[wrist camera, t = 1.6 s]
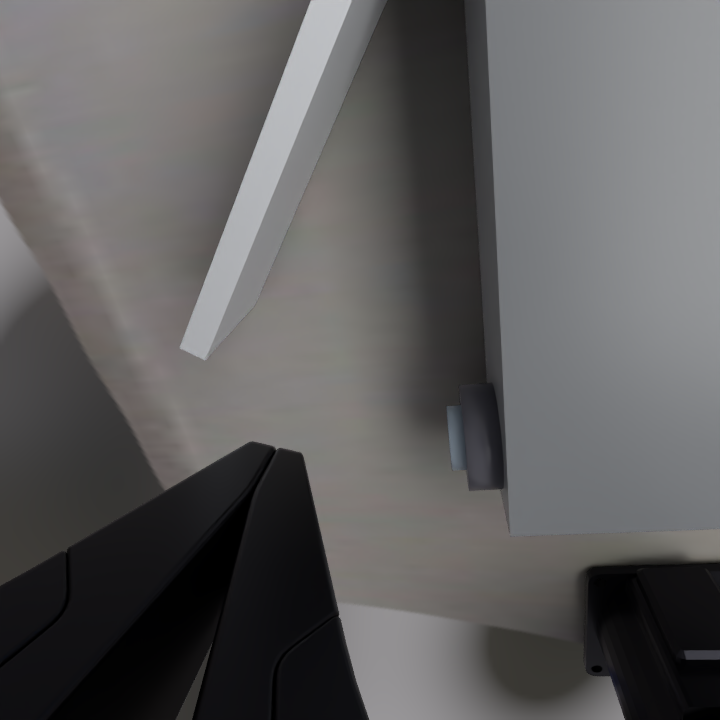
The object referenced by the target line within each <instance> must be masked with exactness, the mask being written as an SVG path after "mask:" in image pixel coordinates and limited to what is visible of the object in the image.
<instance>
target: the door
mask: <svg viewBox="0 0 720 720" xmlns="http://www.w3.org/2000/svg"><path fill="white" fill-rule="evenodd" d="M386 2H387V0H311V2H310V4H309V7H308V10H307V12H306V15H305V17H304V20H303V23H302V25H301V28H300V31H299V33H298V36H297V39H296V41H295V44H294V47H293V49H292V52H291V54H290V57H289V60H288V62H287V65H286V68H285V70H284V73H283V76H282V78H281V81H280V84H279V86H278V89H277V91H276V94H275V97H274V99H273V102H272V105H271V107H270V110H269V113H268V115H267V118H266V121H265V123H264V126H263V128H262V131H261V134H260V136H259V139H258V142H257V144H256V147H255V150H254V152H253V155H252V158H251V160H250V163H249V165H248V168H247V171H246V173H245V176H244V179H243V181H242V184H241V187H240V189H239V192H238V195H237V197H236V200H235V202H234V205H233V208H232V210H231V213H230V216H229V218H228V221H227V224H226V226H225V229H224V232H223V234H222V237H221V239H220V242H219V245H218V247H217V250H216V253H215V255H214V258H213V261H212V263H211V266H210V269H209V271H208V274H207V276H206V279H205V282H204V284H203V287H202V290H201V292H200V295H199V298H198V300H197V303H196V306H195V308H194V311H193V313H192V316H191V319H190V321H189V324H188V327H187V329H186V332H185V335H184V337H183V340H182V343H181V345H180V349H182V350H185V351H187V352H189V353H191V354H193V355H195V356H197V357H199V358H201V359H203V360H206V359H207V358H208V357H209V356H210V355H211V354H212V352H213V351H214V350H215V349H216V348H217V347H218V346H219V345H220V344H221V342H222V341H223V340H224V339H225V338H226V337H227V336H228V335H229V334H230V333H231V331H232V330H233V329H234V328H235V327H236V326H237V325H238V324H239V323H240V321H241V320H242V319H243V318H244V317H245V316H246V315H247V314H248V313H249V311H250V310H251V309H252V308H253V307H254V306H255V304H256V302H257V300H258V297H259V295H260V293H261V291H262V288H263V286H264V284H265V281H266V279H267V277H268V274H269V272H270V270H271V267H272V265H273V263H274V261H275V258H276V256H277V254H278V251H279V249H280V247H281V244H282V242H283V240H284V237H285V235H286V233H287V231H288V228H289V226H290V224H291V221H292V219H293V217H294V214H295V212H296V210H297V207H298V205H299V203H300V201H301V198H302V196H303V194H304V191H305V189H306V187H307V184H308V182H309V180H310V177H311V175H312V173H313V171H314V168H315V166H316V164H317V161H318V159H319V157H320V154H321V152H322V150H323V147H324V145H325V143H326V141H327V138H328V136H329V134H330V131H331V129H332V127H333V124H334V122H335V120H336V117H337V115H338V113H339V111H340V108H341V106H342V104H343V101H344V99H345V97H346V94H347V92H348V90H349V87H350V85H351V83H352V81H353V78H354V76H355V74H356V71H357V69H358V67H359V64H360V62H361V60H362V57H363V55H364V53H365V51H366V48H367V46H368V44H369V41H370V39H371V37H372V34H373V32H374V30H375V27H376V25H377V23H378V21H379V18H380V16H381V14H382V11H383V9H384V7H385V4H386Z"/></svg>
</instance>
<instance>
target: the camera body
mask: <svg viewBox="0 0 720 720" xmlns="http://www.w3.org/2000/svg"><path fill="white" fill-rule="evenodd" d="M464 6H465V23H466V40H467V56H468V73H469V90H470V107H471V123H472V140H473V157H474V174H475V191H476V207H477V224H478V241H479V258H480V274H481V291H482V308H483V325H484V342H485V358H486V375H487V383H479V384H466V385H459V396H460V405H457V406H446V408H447V421H448V432H449V443H450V454H451V464H452V470H466V472H467V480H468V488H469V491H475V490H495V489H501V494H502V499H503V504H504V509H505V514H506V518H507V523H508V528H509V533H510V537H512V536H539V535H567V534H594V533H622V532H649V531H677V530H704V529H720V0H464Z"/></svg>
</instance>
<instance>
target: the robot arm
mask: <svg viewBox="0 0 720 720" xmlns="http://www.w3.org/2000/svg"><path fill="white" fill-rule="evenodd" d="M600 578H602V579H600ZM597 579H600V580H597ZM338 616H339V611H338V607H337V602H336V598H335V593H334V589H333V585H332V580H331V576H330V571H329V567H328V563H327V558H326V554H325V549H324V545H323V541H322V536H321V532H320V527H319V523H318V518H317V514H316V510H315V505H314V501H313V496H312V492H311V488H310V483H309V479H308V474H307V470H306V466H305V461H304V457H303V455H302V453H300V452H296V451H292V450H288V449H283V448H279V449H277V450H276V449H275V447H274V446H271V445H266V444H262V443H258V442H253V441H252V442H249V443H247V444H245V445H243V446H242V447H240V448H238V449H236V450H235V451H233V452H231V453H230V454H228V455H226V456H224V457H223V458H221V459H219V460H217V461H216V462H214V463H212V464H211V465H209V466H207V467H205V468H204V469H202V470H200V471H199V472H197V473H195V474H193V475H192V476H190V477H188V478H187V479H185V480H183V481H181V482H180V483H178V484H176V485H175V486H173V487H171V488H169V489H168V490H166V491H164V492H163V493H161V494H159V495H158V496H156V497H154V498H152V499H151V500H149V501H147V502H145V503H144V504H142V505H140V506H138V507H137V508H135V509H133V510H132V511H130V512H128V513H126V514H125V515H123V516H121V517H120V518H118V519H116V520H114V521H113V522H111V523H110V524H108V525H106V526H104V527H102V528H101V529H99V530H98V531H96V532H94V533H92V534H90V535H89V536H87V537H85V538H84V539H82V540H80V541H78V542H77V543H75V544H74V545H72V546H70V547H68V549H67V553H66V552H65V551H61V552H59V553H57V554H56V555H54V556H52V557H50V558H49V559H47V560H45V561H44V562H42V563H40V564H38V565H37V566H35V567H33V568H31V569H30V570H28V571H26V572H24V573H22V574H21V575H19V576H17V577H15V578H13V579H12V580H10V581H8V582H6V583H4V584H2V585H1V586H0V720H176V718H177V716H178V714H179V712H180V710H181V708H182V705H183V703H184V701H185V699H186V697H187V695H188V693H189V691H190V688H191V687H192V684H193V682H194V680H195V678H196V676H197V674H198V672H199V670H200V668H201V666H202V663H203V661H204V659H205V657H206V655H207V653H208V651H209V649H210V647H211V644H212V647H211V651H210V654H209V658H208V662H207V666H206V670H205V674H204V677H203V681H202V685H201V689H200V692H199V696H198V700H197V704H196V707H195V711H194V715H193V719H192V720H369V718H368V715H367V712H366V709H365V706H364V703H363V700H362V697H361V694H360V691H359V688H358V685H357V682H356V679H355V675H354V671H353V667H352V664H351V660H350V656H349V653H348V649H347V645H346V641H345V636H344V632H343V628H342V623H341V619H340V618H339V617H338ZM212 642H213V643H212ZM584 665H585V668H586V671H587V673H588V674H590V675H593V676H611V679H612V682H613V685H614V688H615V691H616V694H617V697H618V700H619V703H620V706H621V709H622V712H623V715H624V718H625V720H720V564H694V565H657V566H619V567H595V568H592V569H590V570H589V571H588V572H587V574H586V587H585V625H584Z"/></svg>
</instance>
